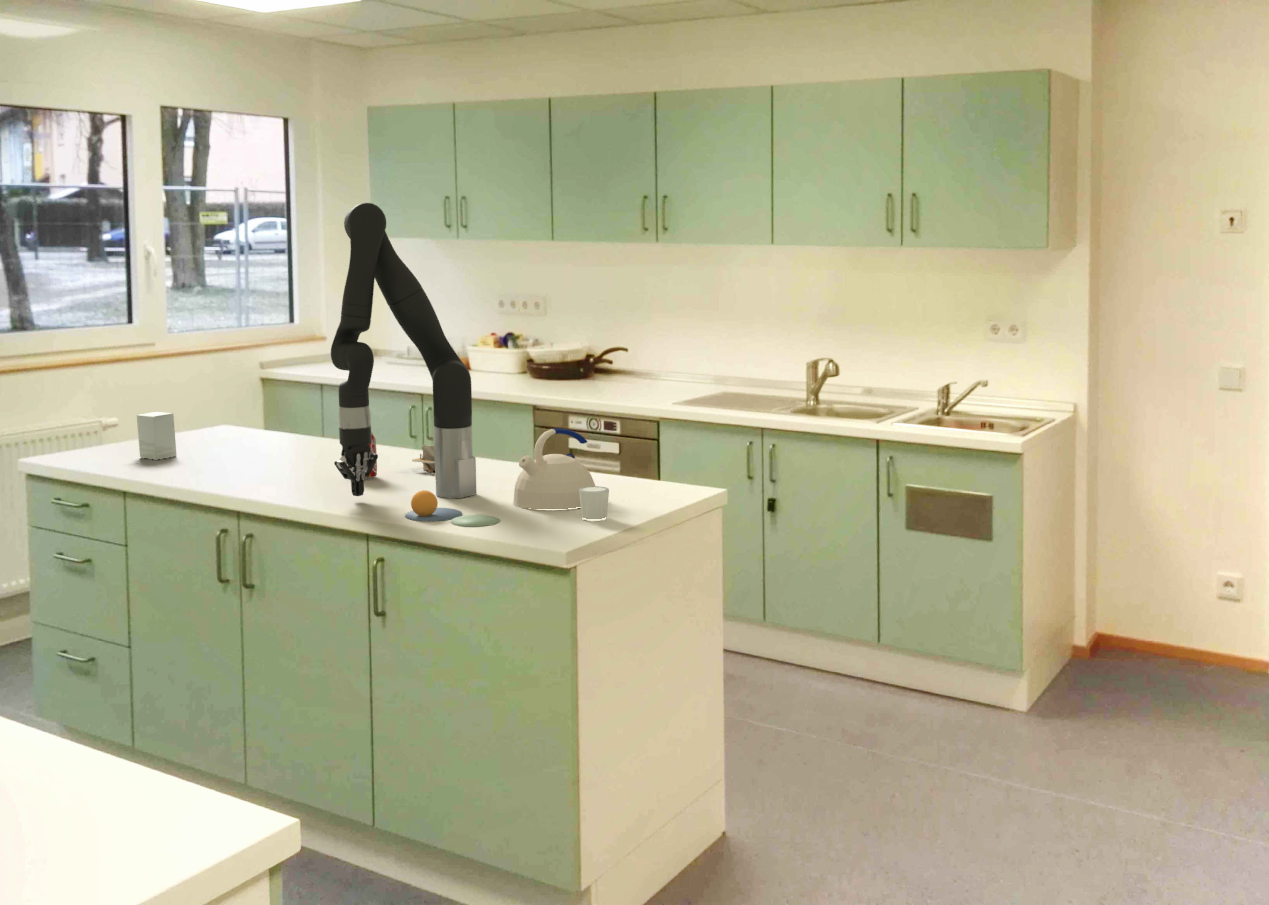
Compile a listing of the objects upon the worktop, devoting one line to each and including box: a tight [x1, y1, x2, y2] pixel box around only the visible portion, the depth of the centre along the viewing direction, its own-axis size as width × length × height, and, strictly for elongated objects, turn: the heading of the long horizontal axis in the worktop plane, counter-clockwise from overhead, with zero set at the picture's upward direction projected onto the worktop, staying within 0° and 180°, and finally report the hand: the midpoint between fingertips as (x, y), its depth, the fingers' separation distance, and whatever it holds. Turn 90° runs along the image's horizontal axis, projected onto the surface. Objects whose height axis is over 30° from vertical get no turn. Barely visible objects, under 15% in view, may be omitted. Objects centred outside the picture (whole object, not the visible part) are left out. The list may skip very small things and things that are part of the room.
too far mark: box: [450, 514, 501, 528], centre depth 296 cm, size 11×11×1 cm
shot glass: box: [579, 485, 610, 519], centre depth 297 cm, size 7×7×7 cm
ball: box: [410, 490, 438, 516], centre depth 300 cm, size 6×6×6 cm
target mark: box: [404, 507, 463, 522], centre depth 302 cm, size 13×13×1 cm
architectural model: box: [411, 444, 435, 473], centre depth 351 cm, size 3×7×7 cm, turn 61°
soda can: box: [364, 431, 378, 481], centre depth 343 cm, size 7×7×12 cm
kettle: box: [512, 428, 596, 509], centre depth 314 cm, size 20×21×18 cm
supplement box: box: [136, 411, 177, 461], centre depth 373 cm, size 7×7×13 cm
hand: (357, 495), depth 316 cm, fingers closed
